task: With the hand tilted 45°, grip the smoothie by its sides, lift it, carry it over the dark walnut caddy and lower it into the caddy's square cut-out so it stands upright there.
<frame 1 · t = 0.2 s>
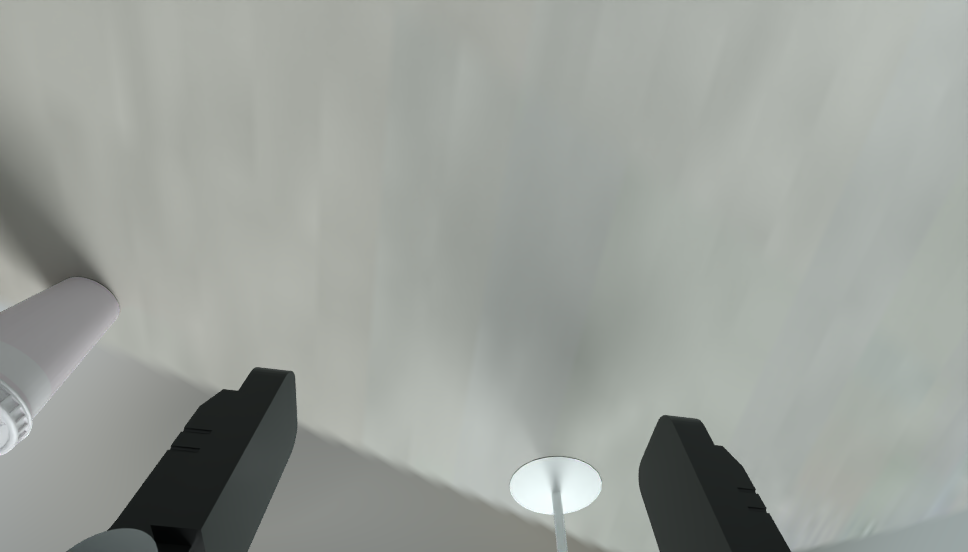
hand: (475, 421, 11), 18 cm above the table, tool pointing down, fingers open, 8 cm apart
wineglass: (555, 484, 40), on the table
smoothie: (91, 299, 32), on the table
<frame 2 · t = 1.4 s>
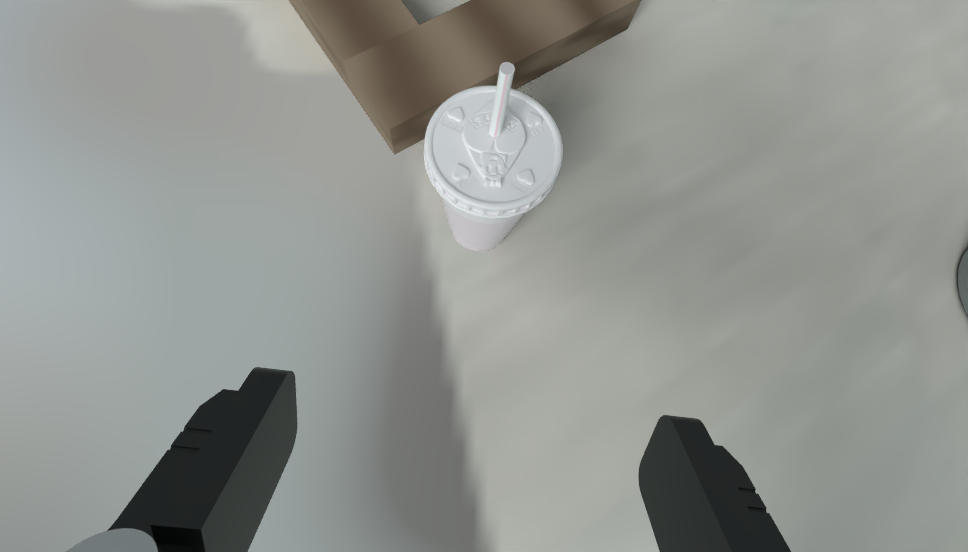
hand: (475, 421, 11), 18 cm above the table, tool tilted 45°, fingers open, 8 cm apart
smoothie: (478, 225, 31), on the table
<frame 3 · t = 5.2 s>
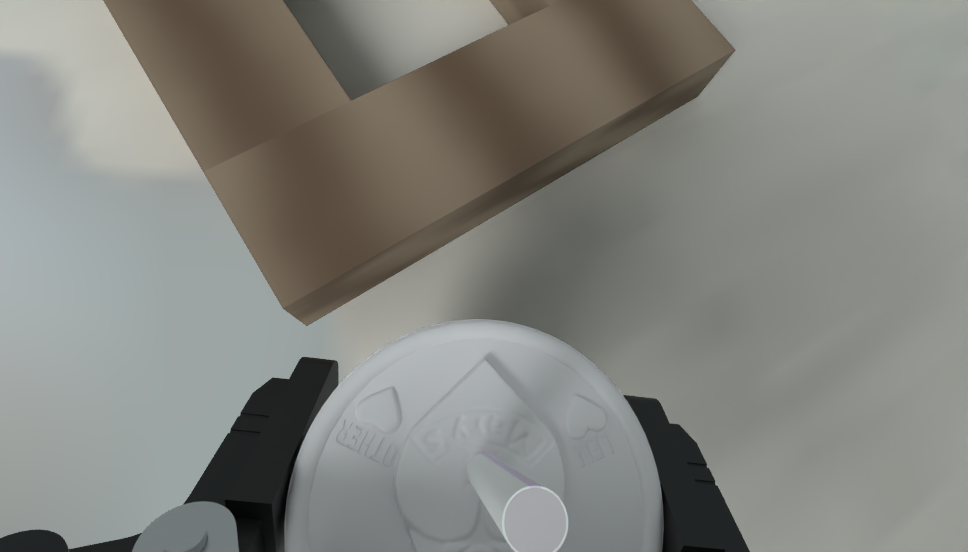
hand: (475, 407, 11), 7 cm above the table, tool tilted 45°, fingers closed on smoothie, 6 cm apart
caddy: (399, 26, 22), on the table
smoothie: (454, 459, 17), on the table, touching gripper
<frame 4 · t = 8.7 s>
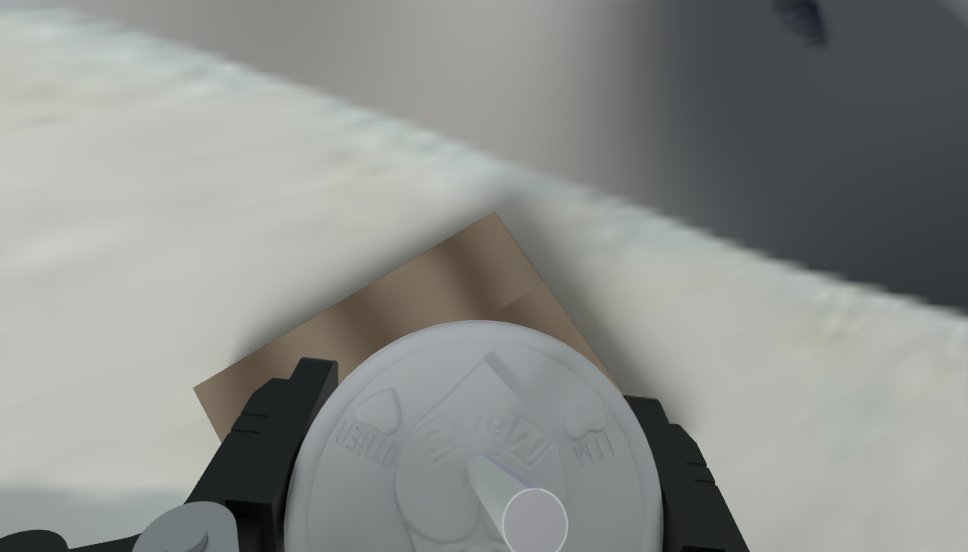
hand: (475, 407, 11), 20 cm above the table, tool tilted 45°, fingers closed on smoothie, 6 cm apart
caddy: (445, 437, 30), on the table
smoothie: (454, 460, 17), point 13 cm above the table, touching gripper
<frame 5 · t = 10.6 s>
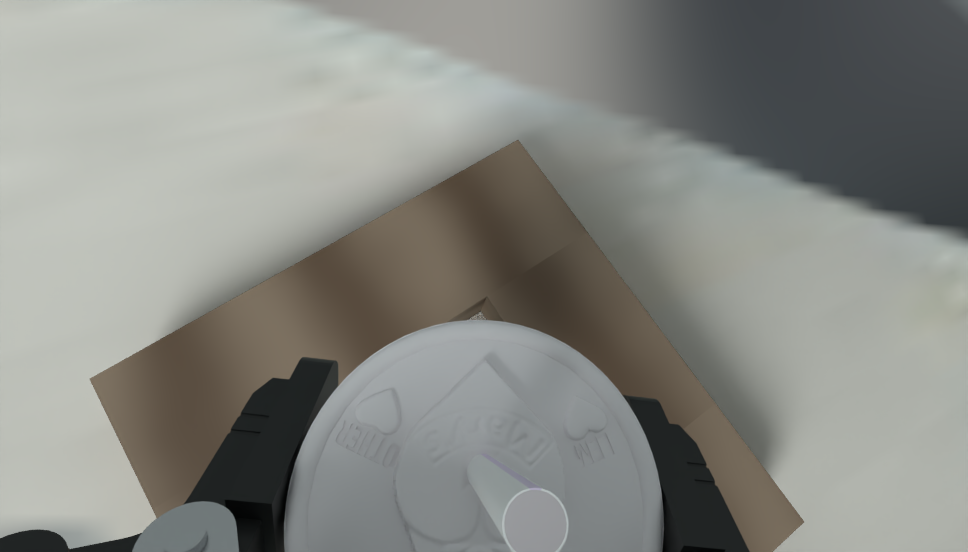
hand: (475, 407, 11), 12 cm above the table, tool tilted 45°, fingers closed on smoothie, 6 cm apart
caddy: (453, 447, 22), on the table
smoothie: (454, 460, 17), point 5 cm above the table, touching gripper
when the fingers open (8 cm above the table, at t = 12.1 s): smoothie drops 1 cm, resting in caddy.
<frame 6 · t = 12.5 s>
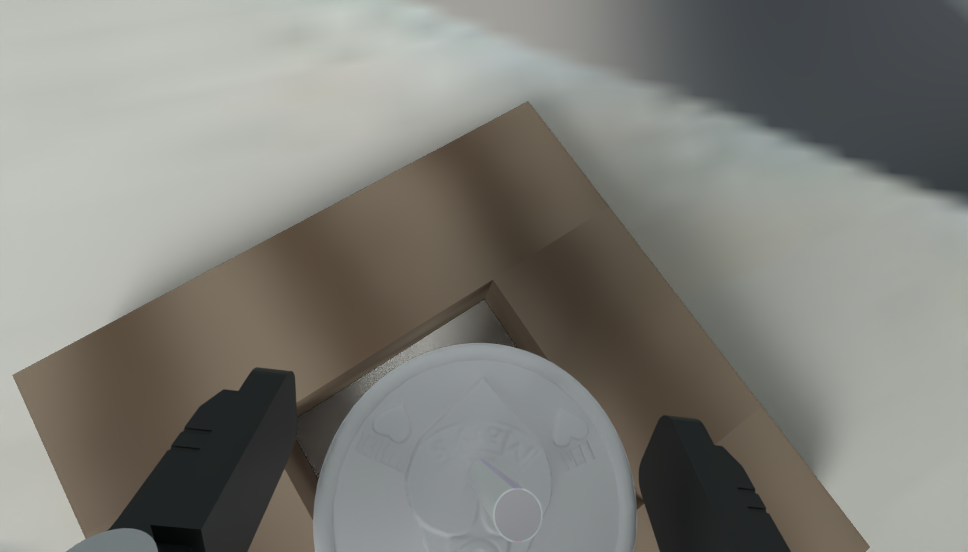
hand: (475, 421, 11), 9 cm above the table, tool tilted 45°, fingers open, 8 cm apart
caddy: (452, 457, 19), on the table
smoothie: (457, 462, 19), resting in caddy
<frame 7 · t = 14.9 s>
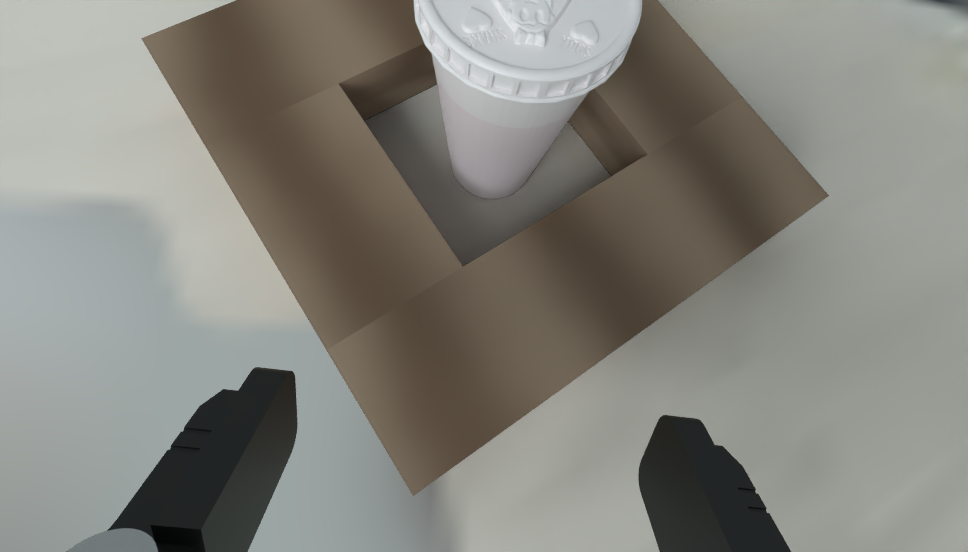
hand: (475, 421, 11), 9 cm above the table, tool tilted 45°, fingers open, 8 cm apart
caddy: (487, 157, 22), on the table
smoothie: (490, 164, 23), resting in caddy
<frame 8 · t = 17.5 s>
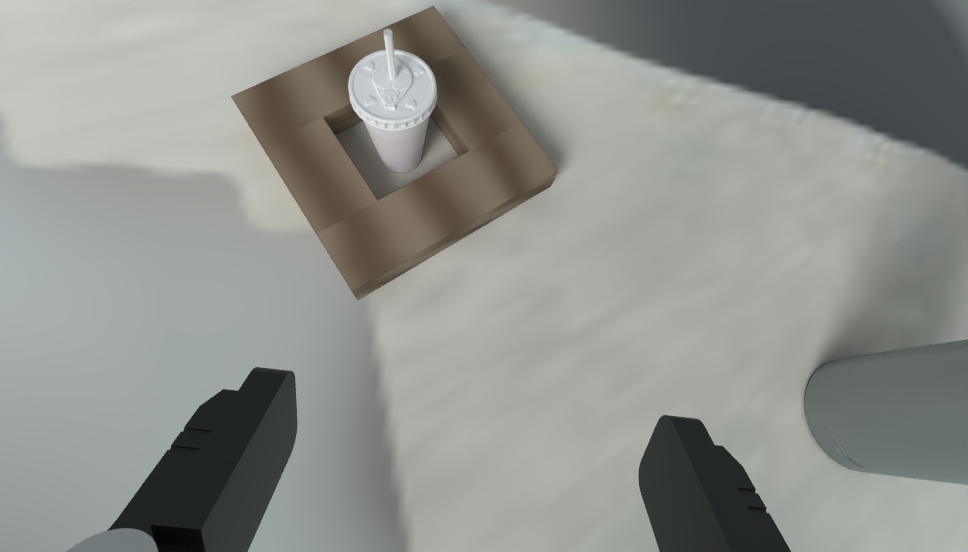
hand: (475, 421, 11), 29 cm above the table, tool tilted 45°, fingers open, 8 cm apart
caddy: (399, 152, 44), on the table
smoothie: (401, 155, 44), resting in caddy
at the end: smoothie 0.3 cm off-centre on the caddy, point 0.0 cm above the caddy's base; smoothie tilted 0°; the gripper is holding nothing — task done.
